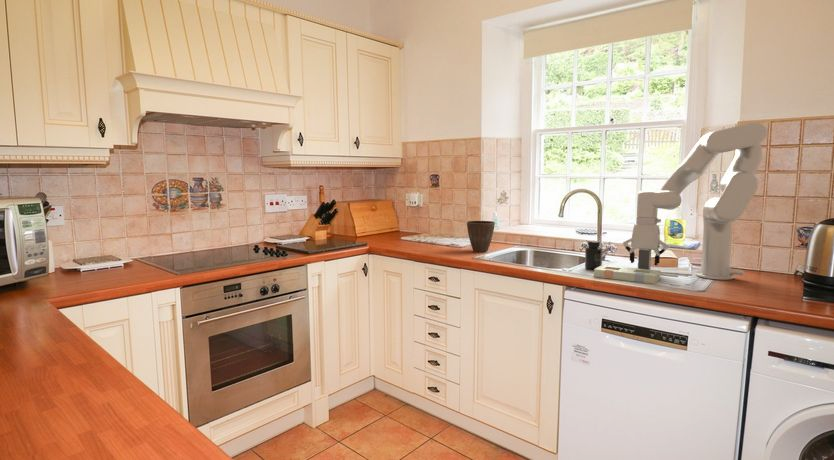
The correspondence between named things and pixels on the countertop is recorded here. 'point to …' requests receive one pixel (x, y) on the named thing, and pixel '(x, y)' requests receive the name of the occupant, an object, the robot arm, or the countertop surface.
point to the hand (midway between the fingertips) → (644, 263)
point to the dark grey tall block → (644, 259)
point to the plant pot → (480, 234)
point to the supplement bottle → (593, 255)
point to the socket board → (627, 273)
